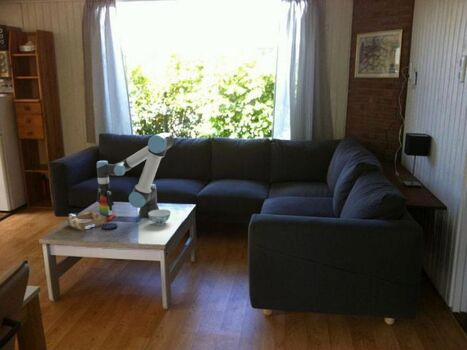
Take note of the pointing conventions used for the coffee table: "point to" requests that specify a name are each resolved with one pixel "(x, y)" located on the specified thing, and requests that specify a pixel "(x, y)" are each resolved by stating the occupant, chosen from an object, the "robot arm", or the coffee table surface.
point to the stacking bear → (105, 209)
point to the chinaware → (159, 216)
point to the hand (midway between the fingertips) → (106, 213)
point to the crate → (94, 218)
